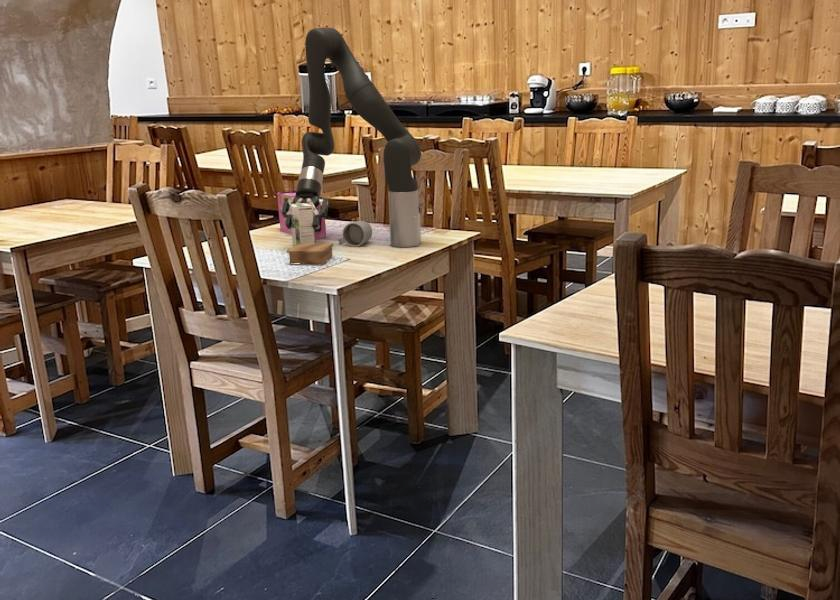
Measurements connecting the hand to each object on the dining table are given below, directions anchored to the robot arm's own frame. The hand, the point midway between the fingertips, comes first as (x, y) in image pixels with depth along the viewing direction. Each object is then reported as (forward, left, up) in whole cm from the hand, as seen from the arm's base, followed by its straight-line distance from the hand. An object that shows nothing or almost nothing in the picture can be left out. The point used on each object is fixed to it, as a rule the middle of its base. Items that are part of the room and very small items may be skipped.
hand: (301, 227), depth 240 cm
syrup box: (0, -1, -8) cm, 8 cm away
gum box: (+9, -27, -8) cm, 29 cm away
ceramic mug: (-13, -12, -8) cm, 20 cm away
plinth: (-6, +11, -8) cm, 14 cm away
